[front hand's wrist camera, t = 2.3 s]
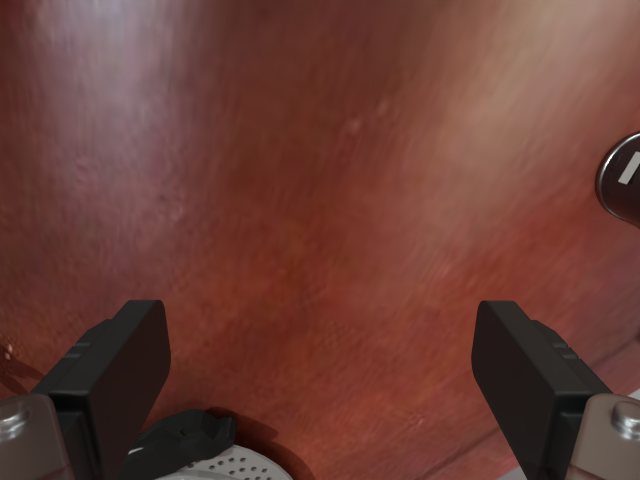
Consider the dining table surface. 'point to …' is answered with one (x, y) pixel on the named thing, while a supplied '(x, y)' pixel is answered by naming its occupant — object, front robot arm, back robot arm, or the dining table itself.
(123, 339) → the front robot arm
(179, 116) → the dining table surface
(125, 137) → the dining table surface
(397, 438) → the dining table surface
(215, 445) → the brake disc
